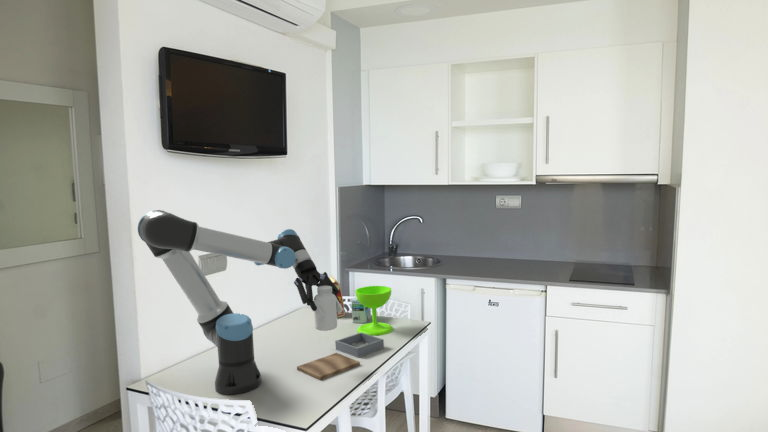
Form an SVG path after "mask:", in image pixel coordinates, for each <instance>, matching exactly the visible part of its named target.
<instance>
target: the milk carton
mask: <svg viewBox="0 0 768 432" xmlns="http://www.w3.org/2000/svg"><path fill="white" fill-rule="evenodd" d="M329 278H330V280H331V281H332V282H333V284H334V285H335V286H336V287H337V289H338V290H339V293H338V295H337V297H338V299H339V300H340V305H341V307H342V308H343V310H342V312H341V313H340V314H338V312H337V319H339V318H341V317H345V316H346V314H345V313H346V311H345V305H344V299H343V292H342V288H341V285H340V283H339V282H338V280H337V279H336V278H335V277H334V276H333V274H330V277H329Z"/></svg>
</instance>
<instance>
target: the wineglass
mask: <svg viewBox="0 0 768 432" xmlns="http://www.w3.org/2000/svg"><path fill="white" fill-rule="evenodd" d="M354 291H355V292H354V293H355V297H357V299H358V301H359V302H360V303H361V304H362V305H364V306H365V307H368V308H370V309H371V318H372V322H367V323H363V324H362V325H360V326H358V327H357V330H356V332H357V334H358V333H361V332H362V333H365V334H368V335H371V336H374V337H377V336H384V335H388V334H390V333H392V332H393V331H394V327H393V326H392V325H391V324H388V323H386V322H379V321H378V317H377V315H378V314H377V313H378V312H377V309H379V308H381V307H384V305H386V304H387V302H388V301H389V300H390V299H391V295H392V288H391V287H389V286H385V285H368V286H362V287H358V288H356V289H355V290H354Z"/></svg>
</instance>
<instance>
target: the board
mask: <svg viewBox="0 0 768 432" xmlns="http://www.w3.org/2000/svg"><path fill="white" fill-rule="evenodd" d="M360 365H361V362H360V361H359V360H356V359H354V358H351V357H348V356H346V355H342V354H340V353H338V352H335V353H332V354H329V355H326V356H323V357H321V358H318V359H317V358H316V359H315V360H311V361H309V362H306V363H304V364H299V365H298V366H297V365H296V370H297V371H298V372H301V373H303V374H306V375H308V376H310V377H311V378H314V379H316V380H318V381H322V380H325V379H327V378H331V377H332V376H334V375H339V374H340V373H343V372H345V371H348V370H350V369H353V368H356V367H358V366H360Z"/></svg>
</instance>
